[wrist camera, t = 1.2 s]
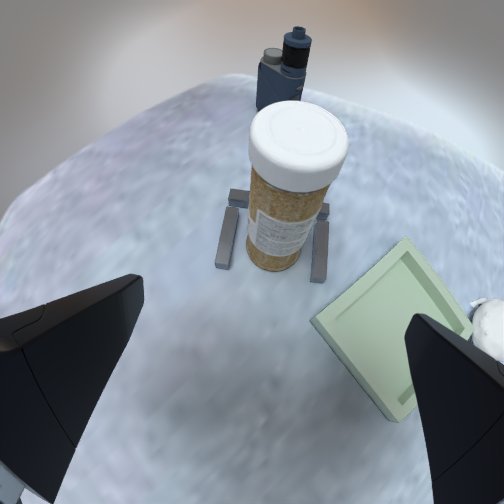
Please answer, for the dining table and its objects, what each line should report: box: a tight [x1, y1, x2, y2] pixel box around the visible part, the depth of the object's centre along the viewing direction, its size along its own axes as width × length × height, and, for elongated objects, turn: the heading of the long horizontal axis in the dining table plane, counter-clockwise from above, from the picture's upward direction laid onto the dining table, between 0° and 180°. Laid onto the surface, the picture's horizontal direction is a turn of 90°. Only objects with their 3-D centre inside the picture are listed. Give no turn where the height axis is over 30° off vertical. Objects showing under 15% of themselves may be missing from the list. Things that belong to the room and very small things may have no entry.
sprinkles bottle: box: [246, 101, 349, 271], centre depth 18 cm, size 5×5×13 cm
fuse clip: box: [215, 189, 329, 283], centre depth 24 cm, size 7×9×1 cm
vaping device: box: [256, 26, 312, 112], centre depth 25 cm, size 3×5×12 cm, turn 40°
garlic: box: [470, 298, 504, 361], centre depth 20 cm, size 8×7×4 cm
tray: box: [310, 236, 475, 423], centre depth 21 cm, size 11×11×2 cm
